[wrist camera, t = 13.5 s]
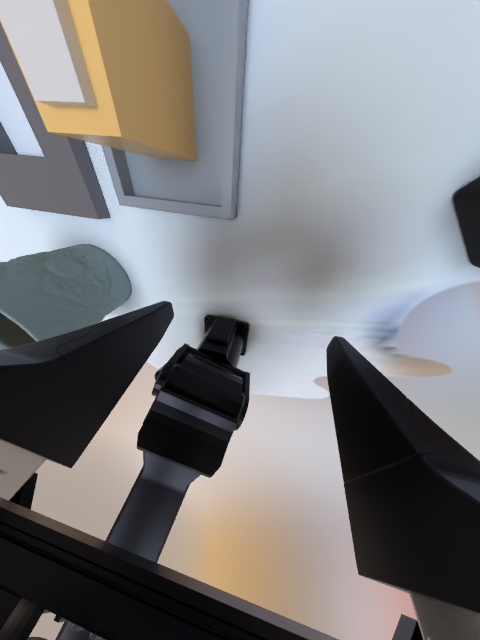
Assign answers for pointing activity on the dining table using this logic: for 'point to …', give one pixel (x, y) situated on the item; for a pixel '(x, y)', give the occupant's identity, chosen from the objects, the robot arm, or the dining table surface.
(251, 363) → the dining table surface
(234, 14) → the parts tray
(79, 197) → the grey flat frame
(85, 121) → the block
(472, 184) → the battery
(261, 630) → the robot arm
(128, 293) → the grey green pot
